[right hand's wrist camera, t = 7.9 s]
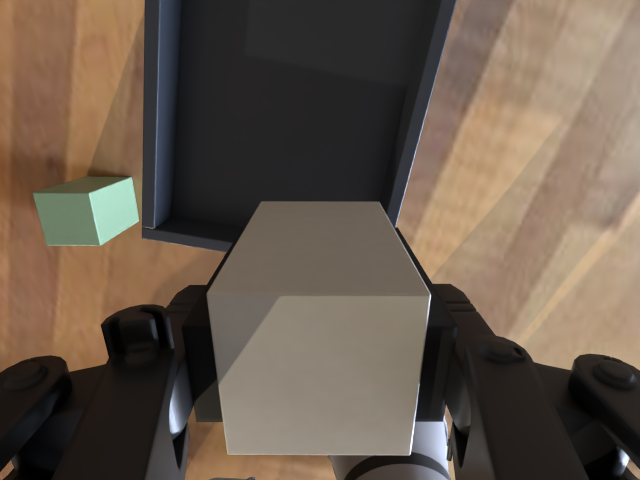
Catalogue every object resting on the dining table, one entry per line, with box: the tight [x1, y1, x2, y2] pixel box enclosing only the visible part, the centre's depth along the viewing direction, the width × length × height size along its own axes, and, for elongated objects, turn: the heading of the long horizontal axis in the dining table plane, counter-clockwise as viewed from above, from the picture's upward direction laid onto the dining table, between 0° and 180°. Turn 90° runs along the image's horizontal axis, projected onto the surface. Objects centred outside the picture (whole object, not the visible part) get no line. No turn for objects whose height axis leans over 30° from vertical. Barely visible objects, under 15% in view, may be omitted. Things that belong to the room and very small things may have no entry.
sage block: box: [33, 177, 139, 246], centre depth 33 cm, size 4×4×7 cm
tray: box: [142, 0, 457, 253], centre depth 18 cm, size 26×16×10 cm, turn 170°
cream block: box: [207, 201, 431, 455], centre depth 11 cm, size 4×4×7 cm
